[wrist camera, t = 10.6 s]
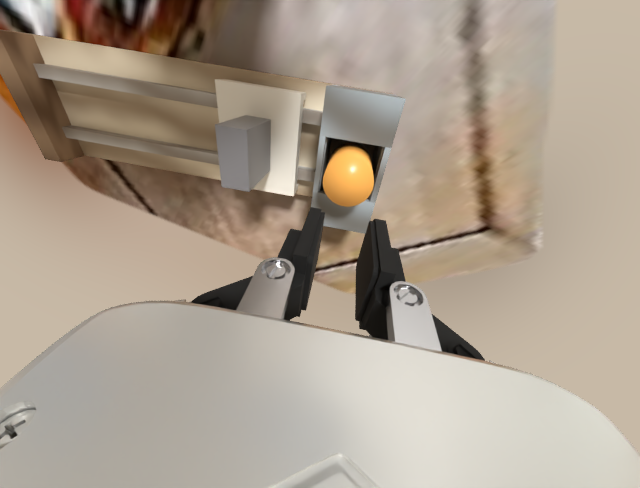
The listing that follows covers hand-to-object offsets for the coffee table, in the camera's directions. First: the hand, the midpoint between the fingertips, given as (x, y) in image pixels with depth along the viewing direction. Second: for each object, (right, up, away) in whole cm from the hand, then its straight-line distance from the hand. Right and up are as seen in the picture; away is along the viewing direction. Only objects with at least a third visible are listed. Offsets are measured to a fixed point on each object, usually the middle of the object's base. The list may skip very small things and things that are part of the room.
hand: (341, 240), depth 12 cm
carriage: (-7, +11, +14) cm, 20 cm away
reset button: (+2, +7, +11) cm, 13 cm away
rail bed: (-14, +14, +16) cm, 25 cm away
